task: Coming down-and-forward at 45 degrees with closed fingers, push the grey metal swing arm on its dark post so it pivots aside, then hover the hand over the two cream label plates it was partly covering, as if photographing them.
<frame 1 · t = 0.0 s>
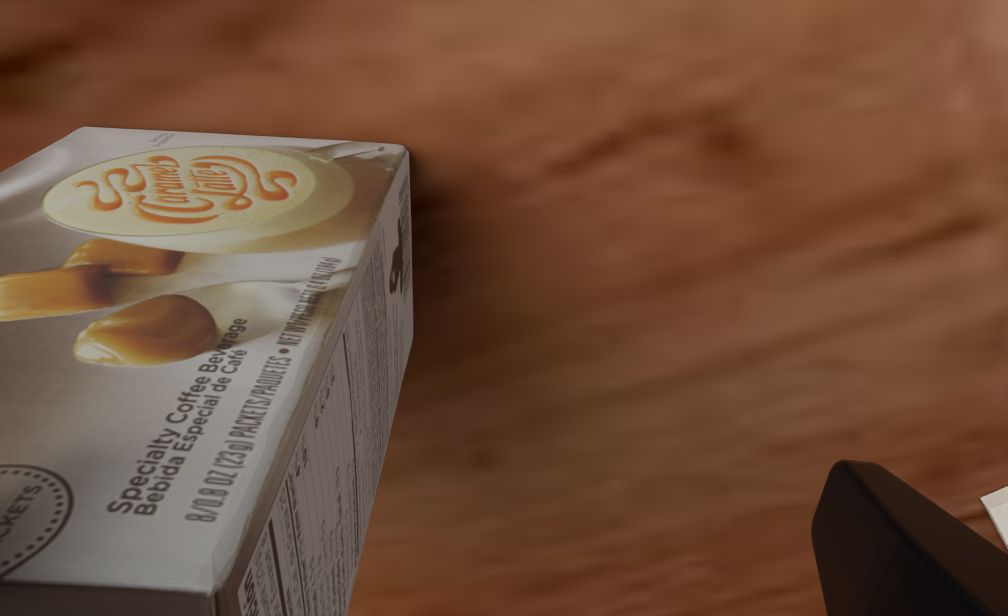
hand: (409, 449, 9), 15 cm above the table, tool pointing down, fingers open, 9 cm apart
coffee box: (262, 235, 24), on the table
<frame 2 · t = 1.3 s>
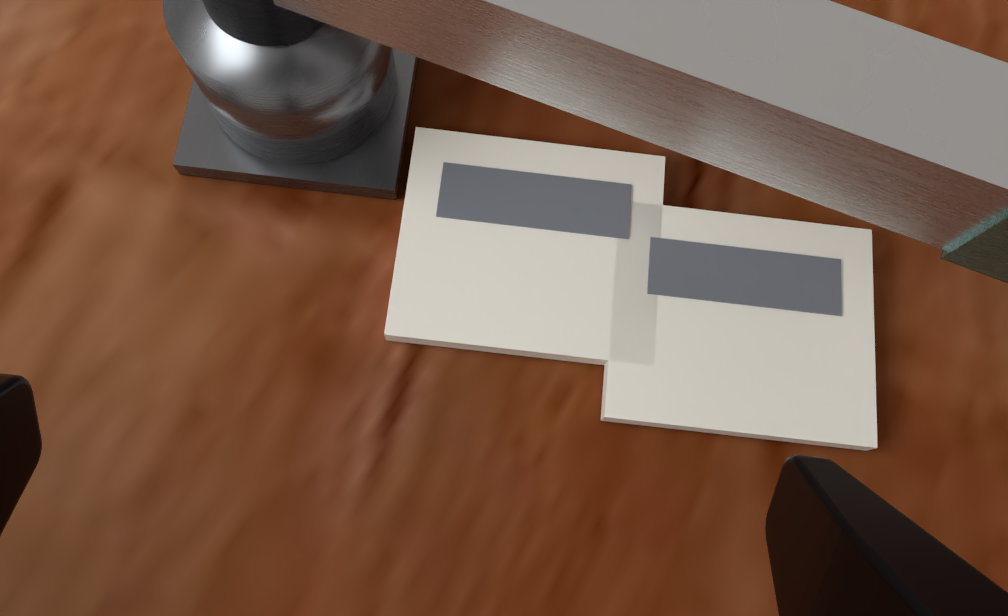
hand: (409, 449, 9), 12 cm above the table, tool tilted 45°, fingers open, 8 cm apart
arm mount: (307, 92, 24), on the table
label plate b: (736, 325, 22), on the table
swing arm: (612, 53, 17), point 7 cm above the table, hinge at -15.0°
label plate a: (528, 249, 23), on the table
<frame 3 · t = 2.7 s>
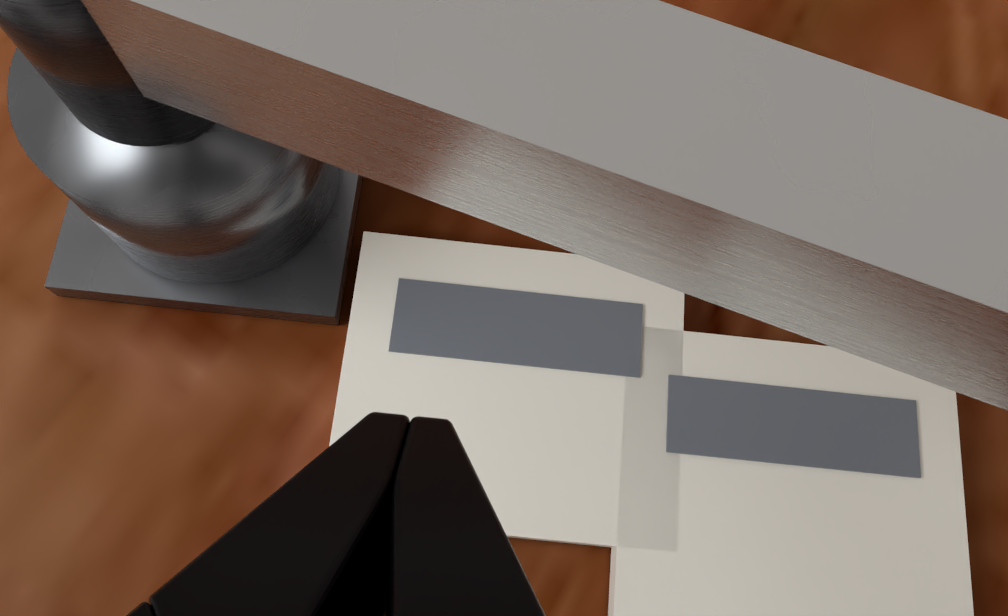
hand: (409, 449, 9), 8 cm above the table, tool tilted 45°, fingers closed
arm mount: (226, 184, 19), on the table
label plate b: (782, 488, 17), on the table
swing arm: (621, 165, 12), point 7 cm above the table, hinge at -15.0°
label plate a: (510, 389, 17), on the table
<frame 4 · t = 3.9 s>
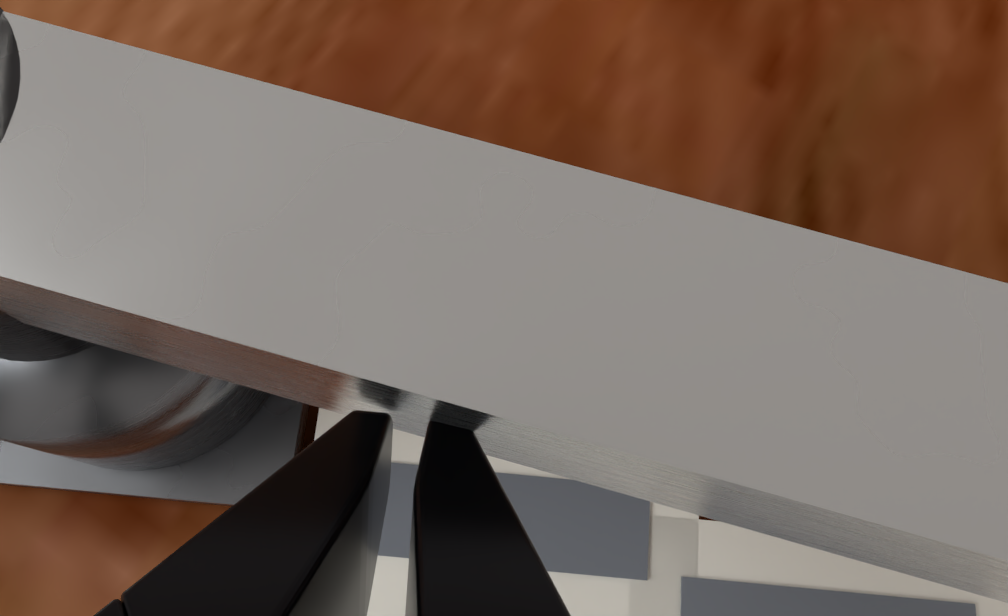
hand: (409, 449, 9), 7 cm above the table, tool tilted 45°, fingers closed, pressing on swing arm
arm mount: (161, 337, 16), on the table
swing arm: (641, 374, 9), point 7 cm above the table, hinge at -10.2°, touching gripper
label plate a: (494, 589, 15), on the table
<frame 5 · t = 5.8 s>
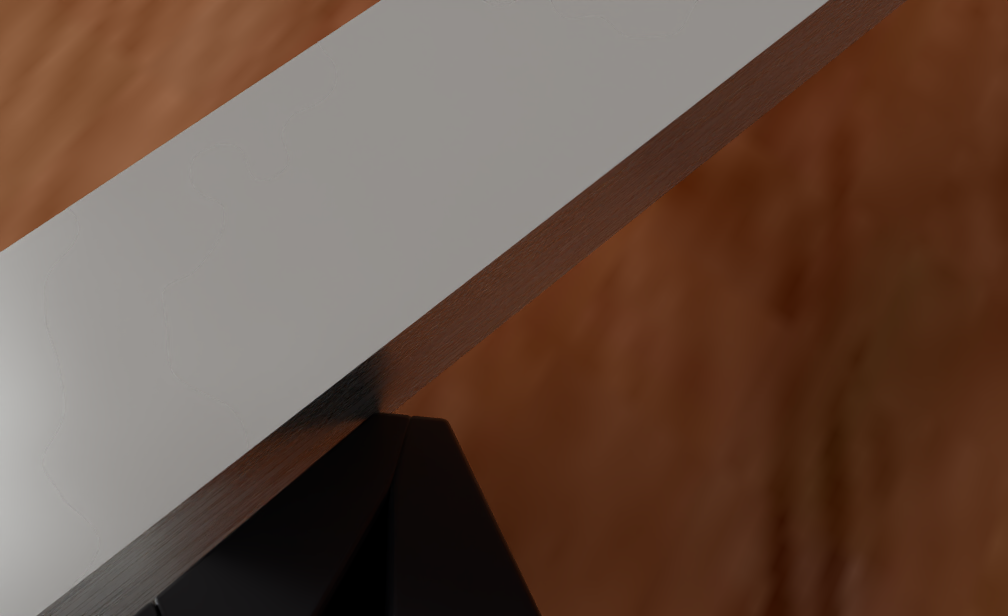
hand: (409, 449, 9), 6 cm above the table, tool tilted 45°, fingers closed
swing arm: (458, 200, 9), point 7 cm above the table, hinge at 45.5°, touching gripper
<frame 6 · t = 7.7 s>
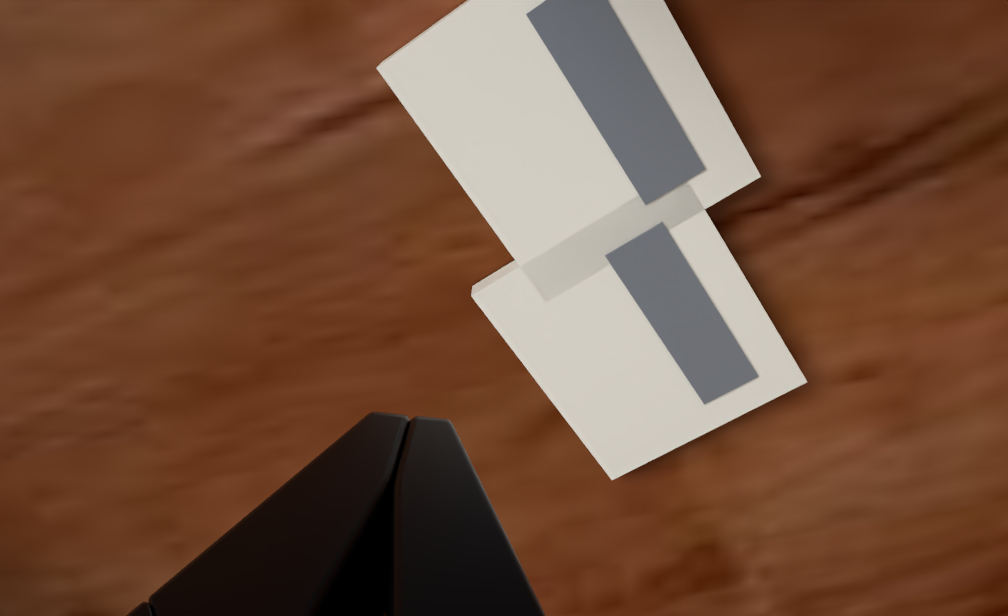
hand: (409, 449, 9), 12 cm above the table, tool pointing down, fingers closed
label plate b: (640, 329, 22), on the table
label plate a: (572, 117, 19), on the table
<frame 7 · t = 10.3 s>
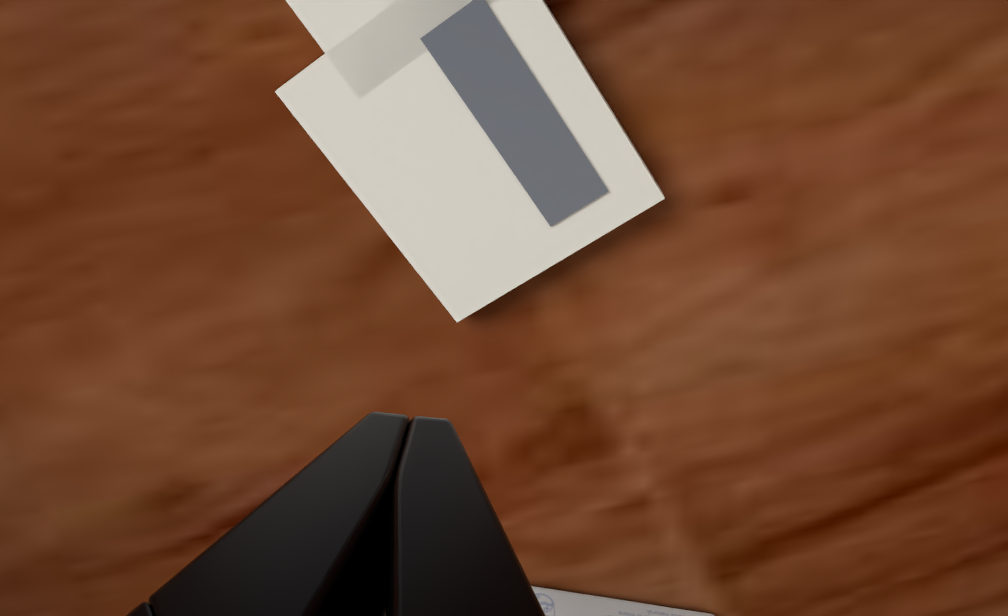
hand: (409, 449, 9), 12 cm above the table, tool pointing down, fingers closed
label plate b: (475, 139, 19), on the table
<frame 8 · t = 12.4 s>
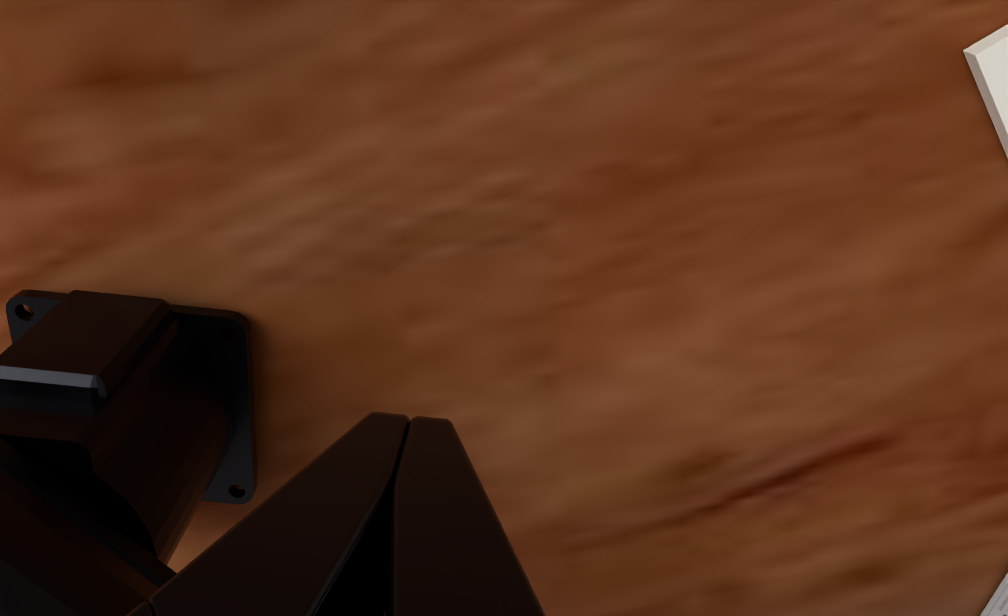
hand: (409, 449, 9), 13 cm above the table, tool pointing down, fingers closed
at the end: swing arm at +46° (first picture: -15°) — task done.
